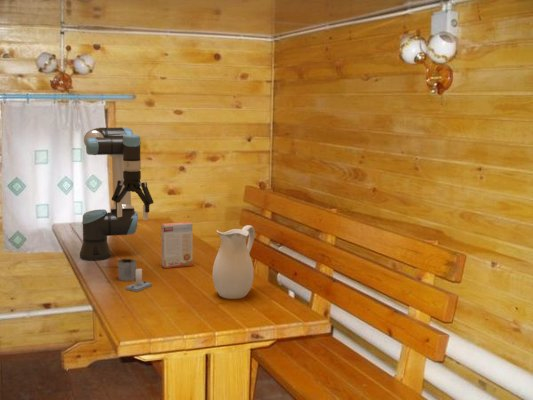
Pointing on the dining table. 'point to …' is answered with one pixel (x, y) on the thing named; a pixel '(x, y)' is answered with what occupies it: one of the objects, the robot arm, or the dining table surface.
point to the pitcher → (234, 263)
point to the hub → (127, 269)
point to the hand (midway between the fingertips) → (132, 218)
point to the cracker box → (177, 244)
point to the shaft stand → (138, 282)
